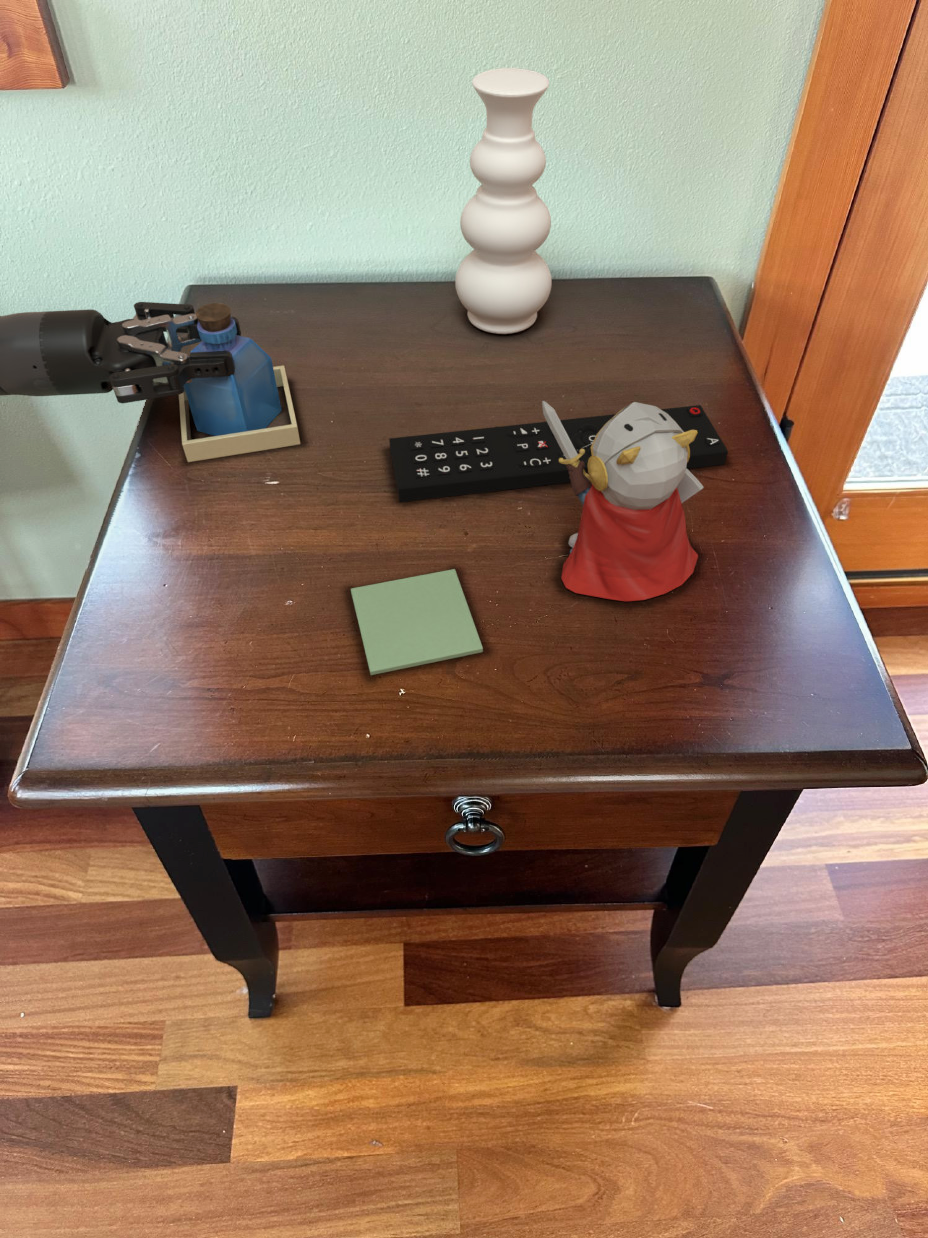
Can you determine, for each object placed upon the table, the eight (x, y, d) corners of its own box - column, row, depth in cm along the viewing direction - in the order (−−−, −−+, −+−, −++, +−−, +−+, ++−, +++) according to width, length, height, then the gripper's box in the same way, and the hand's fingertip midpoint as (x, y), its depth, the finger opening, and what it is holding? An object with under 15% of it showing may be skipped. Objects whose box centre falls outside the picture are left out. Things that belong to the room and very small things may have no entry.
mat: (370, 675, 64) (370, 671, 64) (351, 592, 70) (350, 588, 70) (483, 652, 66) (483, 648, 65) (455, 572, 71) (454, 568, 71)
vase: (437, 314, 99) (430, 72, 80) (509, 287, 103) (519, 51, 84) (493, 355, 93) (501, 105, 74) (567, 324, 97) (592, 80, 78)
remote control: (727, 464, 81) (732, 447, 79) (399, 502, 77) (398, 485, 76) (699, 417, 86) (703, 400, 84) (390, 451, 82) (388, 434, 81)
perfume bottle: (197, 430, 84) (164, 321, 75) (230, 397, 88) (203, 289, 79) (250, 445, 83) (223, 335, 74) (281, 410, 87) (260, 302, 77)
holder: (187, 462, 81) (181, 444, 79) (183, 398, 88) (177, 380, 86) (300, 444, 83) (297, 426, 81) (287, 382, 90) (284, 364, 88)
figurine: (671, 502, 77) (706, 358, 66) (714, 592, 70) (762, 448, 58) (532, 518, 76) (544, 373, 64) (562, 611, 68) (581, 467, 57)
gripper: (17, 360, 71) (219, 351, 72) (57, 277, 80) (235, 270, 81) (51, 433, 76) (237, 423, 77) (84, 348, 86) (250, 340, 87)
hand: (235, 345), depth 79 cm, fingers closed on perfume bottle, 5 cm apart
